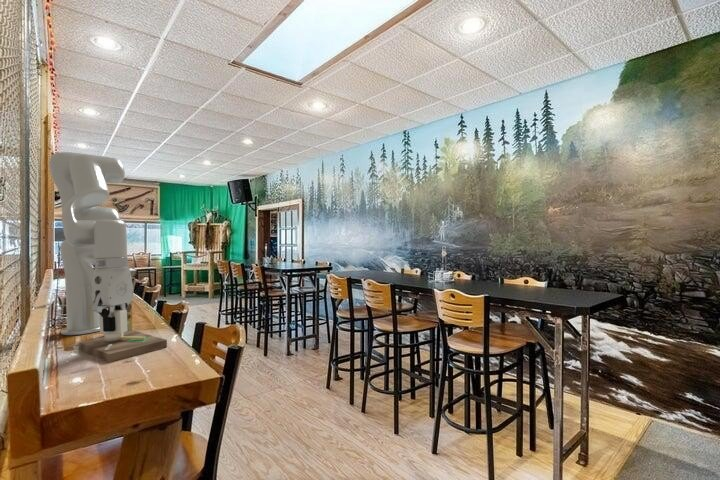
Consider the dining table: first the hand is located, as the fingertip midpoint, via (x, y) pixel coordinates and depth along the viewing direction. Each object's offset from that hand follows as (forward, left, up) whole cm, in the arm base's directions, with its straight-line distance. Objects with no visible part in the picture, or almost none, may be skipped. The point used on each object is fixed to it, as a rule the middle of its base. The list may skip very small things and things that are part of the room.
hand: (114, 329), depth 101 cm
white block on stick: (+3, +1, -3) cm, 4 cm away
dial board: (+3, +1, -5) cm, 6 cm away
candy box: (-14, +8, -5) cm, 17 cm away
